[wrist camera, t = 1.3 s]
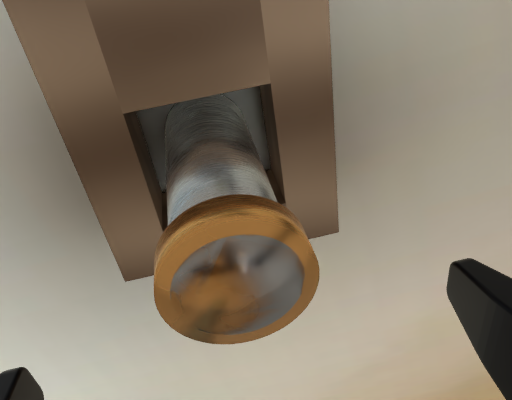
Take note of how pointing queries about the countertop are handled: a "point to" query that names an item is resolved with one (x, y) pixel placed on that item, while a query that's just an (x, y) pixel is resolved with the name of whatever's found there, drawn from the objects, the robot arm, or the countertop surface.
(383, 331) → the countertop surface
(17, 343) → the countertop surface
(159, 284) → the lock pin
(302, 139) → the pin dock plate
